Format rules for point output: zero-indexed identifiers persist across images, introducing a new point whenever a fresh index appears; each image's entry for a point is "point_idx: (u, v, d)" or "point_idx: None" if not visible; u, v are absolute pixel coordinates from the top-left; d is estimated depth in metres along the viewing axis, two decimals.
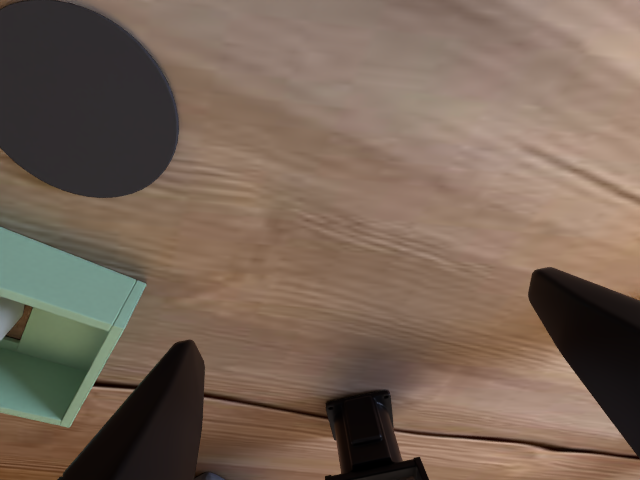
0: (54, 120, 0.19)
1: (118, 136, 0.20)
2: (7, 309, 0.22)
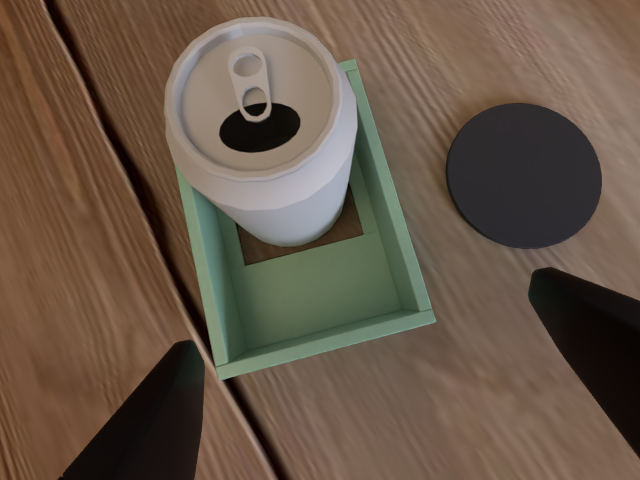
0: (503, 164, 0.23)
1: (533, 203, 0.23)
2: (326, 227, 0.21)
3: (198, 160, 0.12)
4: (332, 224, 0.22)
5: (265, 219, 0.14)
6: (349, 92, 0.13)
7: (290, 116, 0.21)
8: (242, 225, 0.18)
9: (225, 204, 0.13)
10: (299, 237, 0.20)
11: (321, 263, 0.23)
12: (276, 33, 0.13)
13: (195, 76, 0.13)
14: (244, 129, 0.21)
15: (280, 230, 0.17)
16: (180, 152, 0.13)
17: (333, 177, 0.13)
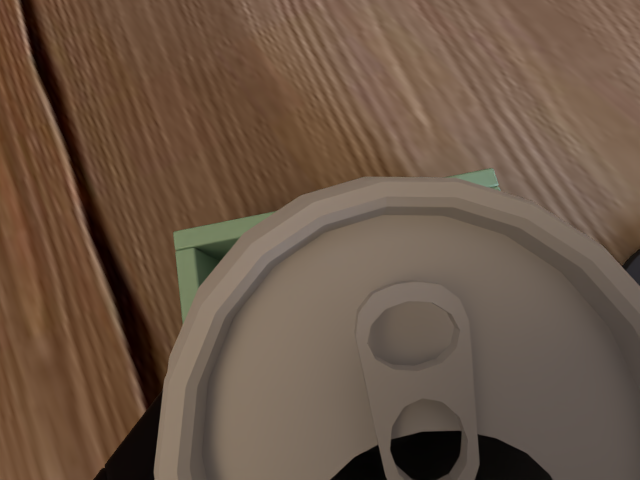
0: None
1: None
2: None
3: None
4: None
5: None
6: None
7: None
8: None
9: None
10: None
11: None
12: (480, 222, 0.05)
13: (251, 327, 0.05)
14: None
15: None
16: None
17: None
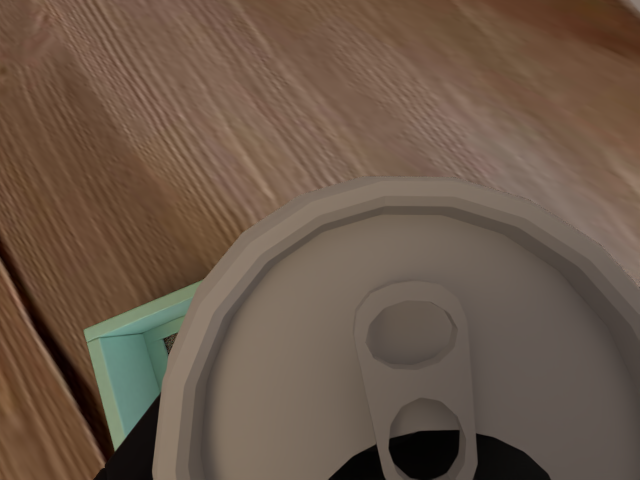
0: None
1: None
2: None
3: None
4: None
5: None
6: None
7: None
8: None
9: None
10: None
11: None
12: (478, 222, 0.05)
13: (250, 327, 0.05)
14: None
15: None
16: None
17: None
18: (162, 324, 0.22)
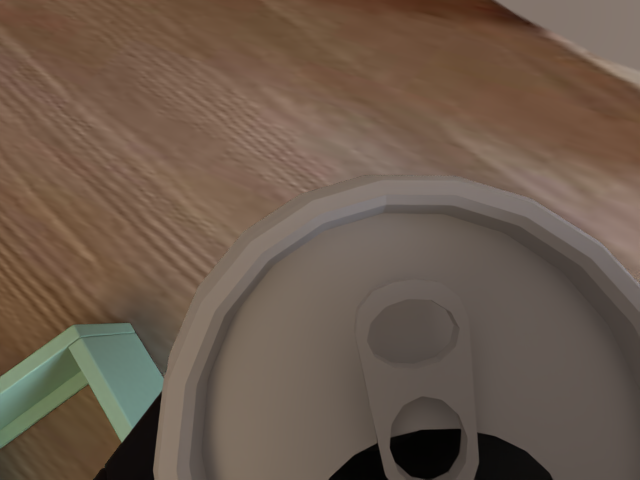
0: None
1: None
2: None
3: None
4: None
5: None
6: None
7: None
8: None
9: None
10: None
11: None
12: (480, 220, 0.05)
13: (251, 325, 0.05)
14: None
15: None
16: None
17: None
18: None
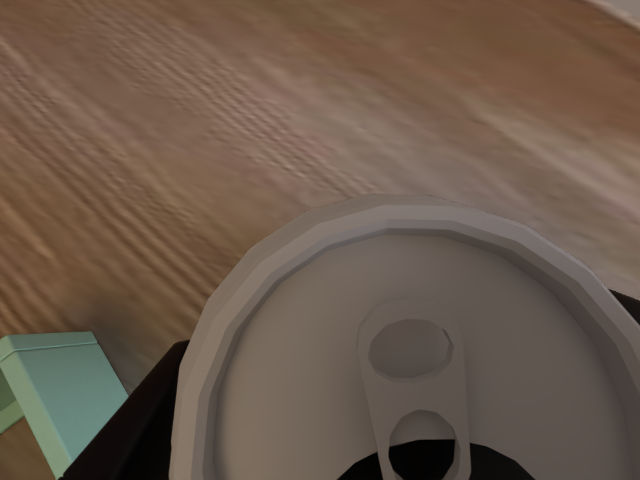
0: None
1: None
2: None
3: None
4: None
5: None
6: None
7: None
8: None
9: None
10: None
11: None
12: (475, 243, 0.05)
13: (259, 340, 0.05)
14: None
15: None
16: None
17: None
18: None
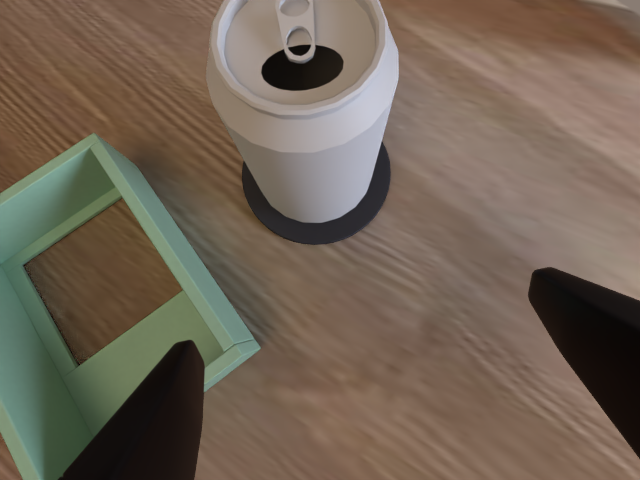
0: None
1: None
2: (351, 202, 0.21)
3: (240, 91, 0.12)
4: (357, 202, 0.21)
5: (297, 169, 0.14)
6: (392, 44, 0.13)
7: None
8: (269, 188, 0.18)
9: (260, 145, 0.13)
10: (324, 208, 0.19)
11: (152, 334, 0.22)
12: None
13: (241, 17, 0.13)
14: None
15: (308, 192, 0.17)
16: (220, 90, 0.13)
17: (371, 125, 0.13)
18: (17, 251, 0.23)
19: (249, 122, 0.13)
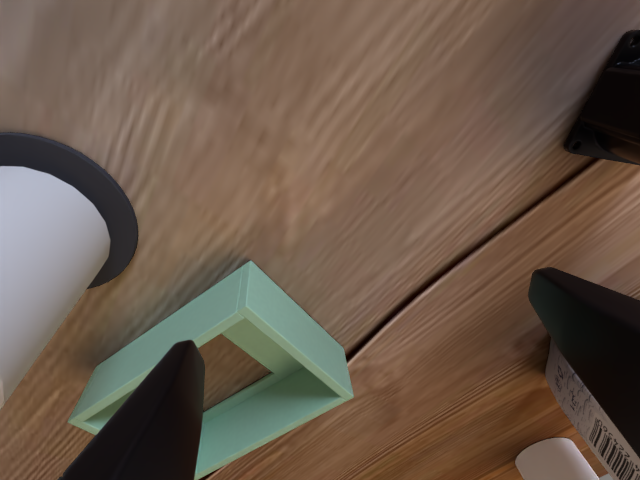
0: None
1: None
2: (65, 204, 0.17)
3: None
4: (64, 189, 0.18)
5: (24, 339, 0.13)
6: None
7: None
8: (70, 310, 0.17)
9: (3, 396, 0.12)
10: (79, 243, 0.17)
11: (245, 336, 0.27)
12: None
13: None
14: None
15: (57, 289, 0.15)
16: None
17: None
18: None
19: None
